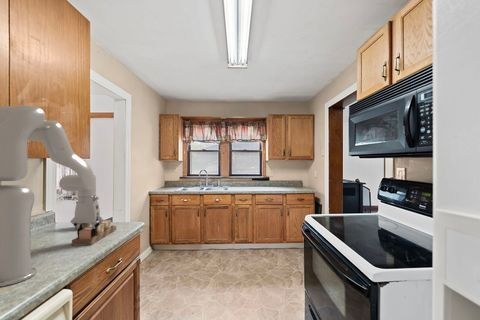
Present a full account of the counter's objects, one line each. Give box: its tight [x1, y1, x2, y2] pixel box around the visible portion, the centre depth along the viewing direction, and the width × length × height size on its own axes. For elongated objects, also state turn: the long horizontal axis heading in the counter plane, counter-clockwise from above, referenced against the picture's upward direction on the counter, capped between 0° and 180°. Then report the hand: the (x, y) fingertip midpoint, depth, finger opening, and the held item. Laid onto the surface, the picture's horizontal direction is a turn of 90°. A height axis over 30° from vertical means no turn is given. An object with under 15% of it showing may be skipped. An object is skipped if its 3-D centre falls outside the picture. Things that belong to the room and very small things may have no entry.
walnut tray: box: [71, 219, 117, 246], centre depth 126 cm, size 25×9×6 cm, turn 2°
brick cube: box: [79, 228, 95, 239], centre depth 118 cm, size 5×5×5 cm
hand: (87, 235), depth 118 cm, fingers open, 5 cm apart
